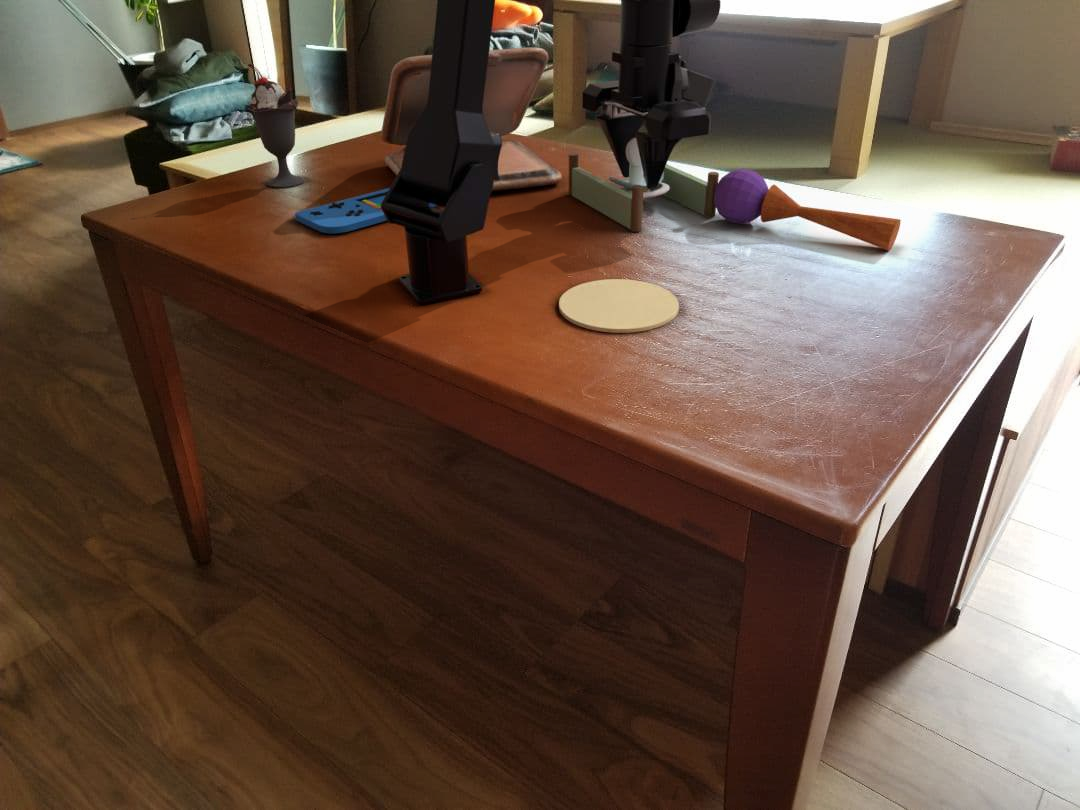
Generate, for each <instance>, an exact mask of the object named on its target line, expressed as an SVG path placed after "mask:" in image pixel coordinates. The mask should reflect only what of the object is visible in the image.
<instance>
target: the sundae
mask: <svg viewBox="0 0 1080 810" xmlns="http://www.w3.org/2000/svg"><path fill="white" fill-rule="evenodd" d="M247 67H249V68H251V69H252V70H253V71H254V72H255V73H256V75H257V76H256V77H257V80H255V81H254V83H253V86H254V88H255V89H254V91H253V92H252V93H251V95H250V100H249V102H250V104H245V105H244V109H245V110H246V111H247V112H249V113H250V114H251V116H252V118H253V120H254V123H255V126H256V128H257V131H258V135H259V138H260V141H261V143H262V146H263V147H264V149H265V150H266V151H267V152H268V153H269V154H271V155H273V156H274V157H276V159H277V164H278V172H277V175H276V176H275V177H273V178H270V179H268V180H267V181H266V185H267V186H268V187H270V188H275V189H282V188H284V189H286V188H292V187H297V186H300V185H302V184H304V182H305V181H306V179H305V178H304V177H303V176H300V175H294V174H293V173H291V171H290V169H289V166H288V162H287V156H288V155H289V154H290V153H291V152H292V151H293V149H294V147H295V146H296V145H295V144H296V121H295V117H296V116H295V113H296V112H295V110H296V109H297V108H298V107H299V103H300V101H299V99H292V89H291V88H290V87H289V88H287V89H286V90H285V91H284V87H283V86H281V85H280V84H278V83H277V82H275V81H272V80H269V79H268V78H267V77H265V76H262V74H261V72H260V70H259V69H258V68H257V67H256V66H254V63H253V62H252V63H248V64H247Z"/></svg>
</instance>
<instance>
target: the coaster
mask: <svg viewBox="0 0 1080 810" xmlns="http://www.w3.org/2000/svg"><path fill="white" fill-rule="evenodd" d="M558 300H559V301H558V310H559V313H560V314H561V316H562V317H564V319H565V320H567V321H568V322H570V323H572V324H574V325H576V326H578V327H581V328H585V329H587V330H592V331H597V332H600V333H601V332H602V333H611V334H612V333H616V334H624V333H625V334H631V333H639V332H645V331H650V330H655V329H657V328H660V327H662V326H664V325H666V324H668V323H670V322H672V321H673V320H674V318H676V317H677V315H678V313H679V309H680V303H679V300H678V298H677V296H675V295H674V293H672V292H671V291H670V290H668V289H667V288H664V287H662V286H660V285H658V284H654V283H651V282H646V281H641V280H635V279H627V278H626V279H625V278H621V279H620V278H613V279H612V278H608V279H598V280H593V281H592V280H591V281H588V282H584V283H580V284H578V285H575V286H573V287H571V288H569V289H567V290H566V291H564V292H563V293H562V295H561V296H560V298H559V299H558Z"/></svg>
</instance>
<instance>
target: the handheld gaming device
mask: <svg viewBox="0 0 1080 810" xmlns="http://www.w3.org/2000/svg"><path fill="white" fill-rule="evenodd" d="M389 189H390V187H388V188H384V189H380V190H376V191H373V192H369V193H365V194H361V195H357V196H354V197H349V198H345V199H341V200H337V201H334V202H330V203H326V204H322V205H318V206H315V207H311V208H307V209H302V210H299V211H296V212H294V217H295V220H296V221H297V222H299V223H301V224H303V225H305V226H307V227H309V228H311V229H314V230H316V231H318V232H320V233H323V234H329V235H330V234H345V233H348V232H353V231H355V230H359V229H363V228H367V227H369V226H373V225H377V224H380V223H383V222H387V220H386V217H385V215H384V213H383V211H382V209H381V203H382V201H383V199H384V198H385V196H386V194H387V192H388V190H389ZM436 206H437V205H435V204H432V203H429V207H433V208H436Z"/></svg>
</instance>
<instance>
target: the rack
mask: <svg viewBox="0 0 1080 810" xmlns="http://www.w3.org/2000/svg"><path fill="white" fill-rule="evenodd" d="M643 177H644V175H643ZM719 178H720V173H719V171H718V172H717V171H709V172H708V173H707V180H704V179H701V178H699V177H698V176H694V175H692V174H690V173H688V172H686V171H684V170H682V169H679V168H677V167H674V166H672V165H670V164H668V163H667V164H666V166H665V169H664V178H663V180H662V181H661V183H665V184H667V185H669V187H670V189H669V191H668V192H666V193H665V194H663V195H662V196H664V197H667V198H668V199H670V200H673V201H675V202H676V203H679V204H681V205H683V206H685V207H687V208H689V209H691V210H692V211H695V212H697V213H699V214H701V215H703V216H705V217H706V218H714V217H716V211H717V209H716V206H715V204H714V193H715V189H716V187H717V185H718V183H719ZM658 189H660V188H656V189H651V191H655V190H658ZM568 195H569V196H572V197H573V198H575V199H576V200H578V201H580V202H582V203H583V204H584V205H587V206H589V207H591V208H592V209H594V210H595V211H597V212H599V213H601V214H602V215H605V216H606V217H607V218H609V219H611V220H613V221H615V222H617V223H618V224H620V225H622V226H623V227H625V228H627V229H628V230H630V231H631V232H633V233H640V232H641V231H642V230H643V209H644V208H643V206H644V205H643V204H644V198H643V186H642V185H634V186H633V187H632V194H630V193H628V192H626V191H624V189H622V188H620V187H618V186H617V185H615V184H612V183H610V181H609V182H608V180H607V181H606V180H605V179H603V178H601V177H599V176H597V175H595V174H593V173H592V172H589V171H587V170H585V169H583V168H582V167H579V153H577V152H571V153H568Z"/></svg>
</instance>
